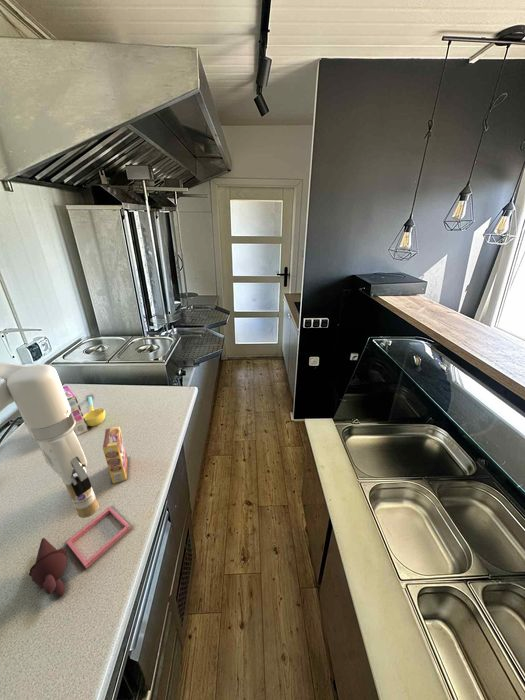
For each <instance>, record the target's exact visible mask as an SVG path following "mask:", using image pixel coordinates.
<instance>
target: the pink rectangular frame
mask: <svg viewBox="0 0 525 700" xmlns="http://www.w3.org/2000/svg"><path fill="white" fill-rule="evenodd" d="M109 514H110V515H112V517H113V518H114V519H116V521H118V523H119V524H120V525H122V527H123V528H122V529H121V530H119V532H117V533H116V534H115V535H114V536H113V537H112V538H111V539H110V540H109V541H107V542H106V543H105V544H104V545H103V546H102V547H100V549H98V550H97V551H96V552H95V553H94V554H93V555H92V556H90V557H89V558H88V559H87V560H86V558H85V557H84V555H82V553H81V551H80V550H78V548H77V547H76V546H75V544H74V543H75V542H76V541H78V540H79V539H80V538H81V537H82V536H84V535H85V534H86V533H88V532H89V531H90V530H91V529H92V528H93V527H95V526H96V525H97V524H99V522H101V521H102V520H103V519H105V518H106V517H107V516H108V515H109ZM131 529H132V528H131V525H130V524H129V523H128V522H127V521H126V520H125V519H124V518H123V517H122V516H121V515H120V514H119V513H118V512H117V511H116V510H115V509H113V508H112V507H111V506H109V507H108V508H106V509H105V510H103V512H101V513H100V514H99V515H98V516H96V517H95V518H94V519H93V520H91V521H89V523H88V524H86V525H85V526H84V527H82V528H81V529H80V530H79V531H78V532H76V533H75V534H74V535H72V536H71V537H70V538H69V539H68V540H66V541H65V543H66V545H67V546H68V548H69V549H70V551H72V553H73V554H74V556H76V558H77V559H78V561H79V562H80V563H81V565H82V566H83V567H84V568H85V569H88V568H89V567H90V566H92V565H93V564H94V563H95V562H96V561H97V560H98V559H99V558H100V557H102V556H103V554H105V553H106V552H107V551H108V550H109V549H110V548H111V547H112V546H114V545H115V544H116V543H117V542H118V541H119V540H120V539H121V538H122V537H123V536H124V535H125V534H127V533H128V532H129V531H130V530H131Z"/></svg>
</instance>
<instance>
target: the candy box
mask: <svg viewBox="0 0 525 700" xmlns="http://www.w3.org/2000/svg"><path fill="white" fill-rule="evenodd" d="M104 432H105V433H104V437H103V444H102V450H103V454H104V456H105V461H106V465H107V469H108V471H109V475H110V478H111V481H112V484H116V483H120V482H123V481H126V480H127V477H128V463H129V459H128V455H127V450H126V446H125V443H124V439H123V435H122V431H121V427H120V426H113V427H109V428H105V431H104Z"/></svg>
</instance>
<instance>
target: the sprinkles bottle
mask: <svg viewBox="0 0 525 700" xmlns="http://www.w3.org/2000/svg"><path fill="white" fill-rule="evenodd" d="M84 469H85V471H86V474H87V475H88V473H87V469H86V467H84ZM73 476H74V478H76V477H77V476H78V475H77V473H75V474H73ZM61 481H62V483H63V484H64V485H65V487H66V490H67V492H68V494H69V497H70V500H71V502H72V504H73V506H74V508H75V510H76V512H77V516H78V517H79V518H82V519H86V518H89V517H91V516H93V515H95V513H96V512H97V511H98V509H99V506H100V505H99V502H98V500H97V497H96V494H95V492H94V489H93V487H91V488H90V489H89V490H87V491H86V492H84V493H83V494H82V495H80V496H79V497H77V496H76V495H75V492H74V490H73V488H72V485H71V483H72V481H71V479H70V478H68V479H67V480H64V479H62V478H61Z"/></svg>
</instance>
